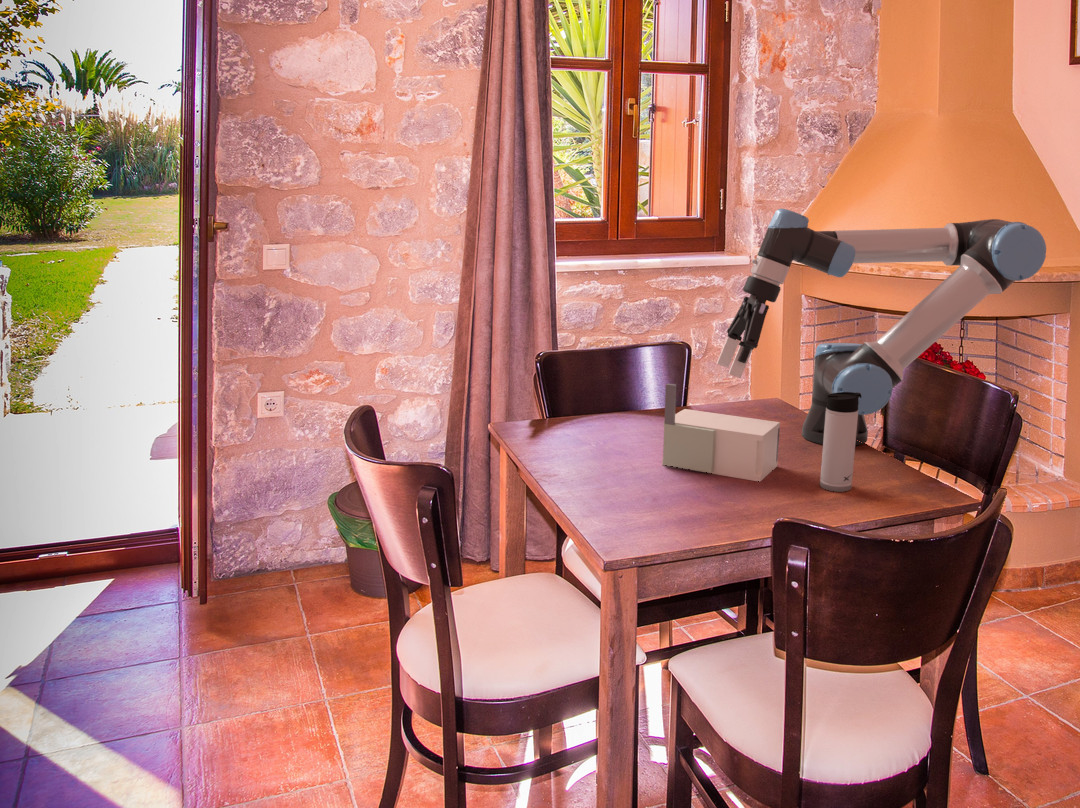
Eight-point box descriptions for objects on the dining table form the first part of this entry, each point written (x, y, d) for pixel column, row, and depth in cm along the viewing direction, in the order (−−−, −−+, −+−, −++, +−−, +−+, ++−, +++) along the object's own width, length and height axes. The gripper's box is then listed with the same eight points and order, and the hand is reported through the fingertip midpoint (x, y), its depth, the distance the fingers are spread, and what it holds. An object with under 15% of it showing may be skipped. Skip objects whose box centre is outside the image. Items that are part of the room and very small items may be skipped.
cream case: (662, 465, 218) (663, 421, 216) (682, 451, 229) (684, 408, 226) (760, 481, 208) (762, 435, 205) (777, 466, 218) (780, 422, 216)
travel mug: (854, 493, 201) (863, 397, 196) (820, 491, 203) (828, 395, 197) (851, 483, 207) (859, 390, 202) (818, 481, 208) (826, 388, 203)
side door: (662, 464, 217) (665, 384, 212) (664, 463, 218) (667, 383, 213) (711, 472, 212) (715, 390, 207) (712, 471, 212) (717, 389, 208)
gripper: (737, 270, 229) (702, 356, 232) (762, 278, 204) (723, 374, 208) (767, 281, 229) (732, 367, 233) (796, 291, 205) (756, 386, 209)
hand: (728, 370), depth 220 cm, fingers open, 13 cm apart
